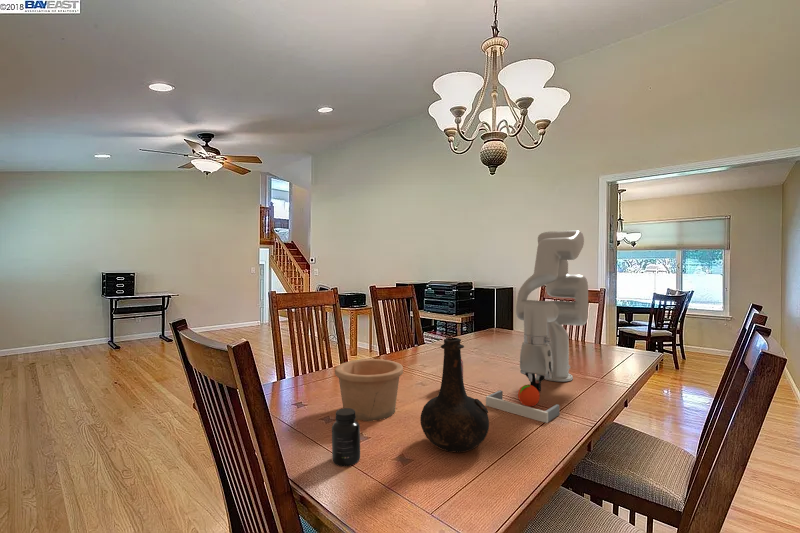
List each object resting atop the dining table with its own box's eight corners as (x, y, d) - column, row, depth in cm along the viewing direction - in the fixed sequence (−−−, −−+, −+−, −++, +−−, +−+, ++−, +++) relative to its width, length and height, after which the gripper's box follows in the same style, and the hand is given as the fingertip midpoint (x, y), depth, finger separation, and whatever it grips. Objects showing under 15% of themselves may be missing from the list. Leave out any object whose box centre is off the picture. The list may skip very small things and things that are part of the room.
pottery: (411, 403, 137) (411, 361, 137) (389, 429, 116) (388, 379, 116) (354, 396, 144) (353, 356, 144) (322, 420, 123) (322, 373, 123)
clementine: (528, 412, 128) (528, 389, 128) (511, 405, 134) (511, 384, 134) (544, 406, 133) (544, 385, 132) (527, 400, 138) (527, 380, 138)
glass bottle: (490, 464, 96) (490, 347, 95) (416, 458, 99) (415, 344, 99) (487, 432, 113) (487, 333, 113) (424, 428, 117) (423, 331, 116)
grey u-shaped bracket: (500, 398, 141) (499, 390, 141) (559, 414, 126) (559, 405, 126) (485, 405, 134) (485, 396, 134) (546, 423, 119) (546, 413, 119)
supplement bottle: (333, 454, 101) (332, 406, 101) (360, 452, 102) (360, 405, 102) (330, 468, 95) (330, 417, 94) (360, 466, 95) (359, 416, 95)
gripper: (561, 341, 134) (562, 395, 135) (520, 335, 145) (520, 386, 145) (552, 344, 129) (552, 401, 129) (510, 338, 139) (510, 391, 140)
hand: (535, 393), depth 137 cm, fingers closed
